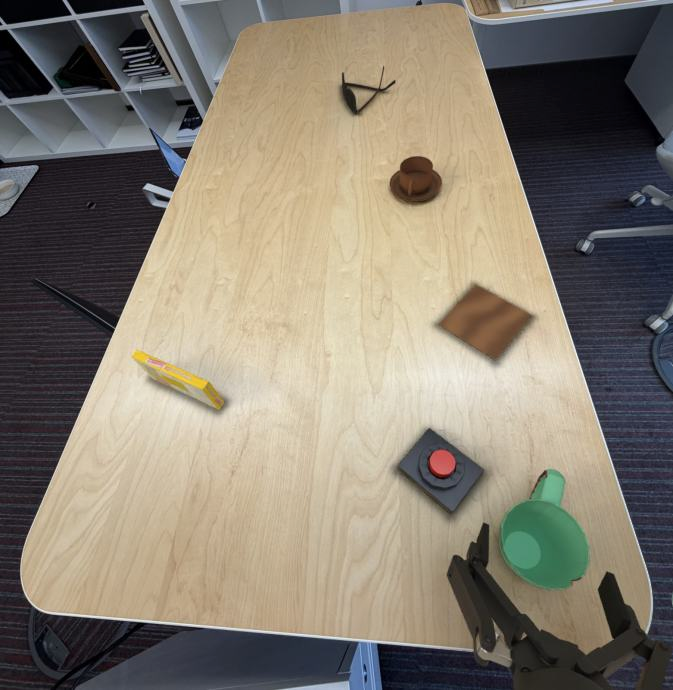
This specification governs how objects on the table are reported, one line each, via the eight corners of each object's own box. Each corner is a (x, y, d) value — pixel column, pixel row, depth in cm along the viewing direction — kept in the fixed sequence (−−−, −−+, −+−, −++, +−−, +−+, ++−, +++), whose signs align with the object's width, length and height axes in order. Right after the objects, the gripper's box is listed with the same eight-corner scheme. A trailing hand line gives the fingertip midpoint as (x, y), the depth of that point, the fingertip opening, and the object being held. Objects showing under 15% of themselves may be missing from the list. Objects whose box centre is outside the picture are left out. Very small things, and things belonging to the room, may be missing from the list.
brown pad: (531, 316, 76) (532, 315, 76) (495, 360, 72) (495, 359, 72) (475, 285, 81) (475, 284, 81) (438, 325, 77) (438, 323, 77)
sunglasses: (400, 104, 116) (400, 85, 112) (351, 116, 116) (349, 98, 112) (384, 76, 125) (384, 57, 121) (338, 87, 125) (336, 69, 121)
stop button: (458, 464, 60) (460, 460, 59) (444, 482, 59) (445, 480, 58) (438, 448, 62) (439, 444, 60) (423, 466, 61) (424, 463, 59)
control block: (481, 473, 63) (487, 466, 59) (450, 514, 60) (454, 510, 57) (428, 432, 67) (430, 423, 64) (397, 469, 65) (397, 462, 61)
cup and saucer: (444, 204, 94) (447, 180, 89) (391, 208, 95) (391, 186, 90) (437, 170, 100) (440, 147, 95) (387, 175, 101) (387, 152, 96)
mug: (552, 605, 53) (583, 607, 45) (476, 569, 56) (491, 565, 48) (571, 497, 60) (601, 481, 51) (502, 470, 63) (520, 451, 54)
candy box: (226, 400, 74) (209, 380, 67) (220, 411, 73) (201, 391, 66) (159, 369, 79) (136, 348, 72) (152, 378, 78) (128, 357, 71)
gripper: (392, 703, 34) (429, 537, 53) (761, 908, 27) (648, 630, 46) (414, 636, 32) (445, 489, 51) (824, 839, 24) (678, 578, 44)
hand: (541, 555), depth 48 cm, fingers open, 13 cm apart
